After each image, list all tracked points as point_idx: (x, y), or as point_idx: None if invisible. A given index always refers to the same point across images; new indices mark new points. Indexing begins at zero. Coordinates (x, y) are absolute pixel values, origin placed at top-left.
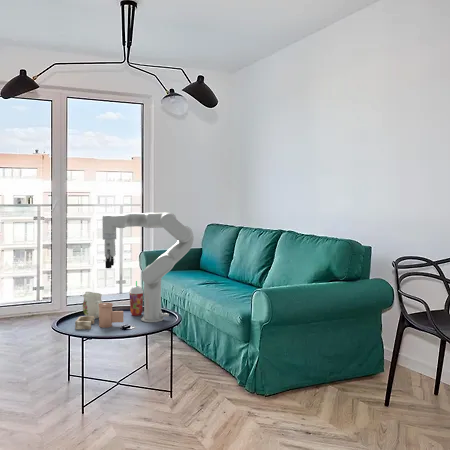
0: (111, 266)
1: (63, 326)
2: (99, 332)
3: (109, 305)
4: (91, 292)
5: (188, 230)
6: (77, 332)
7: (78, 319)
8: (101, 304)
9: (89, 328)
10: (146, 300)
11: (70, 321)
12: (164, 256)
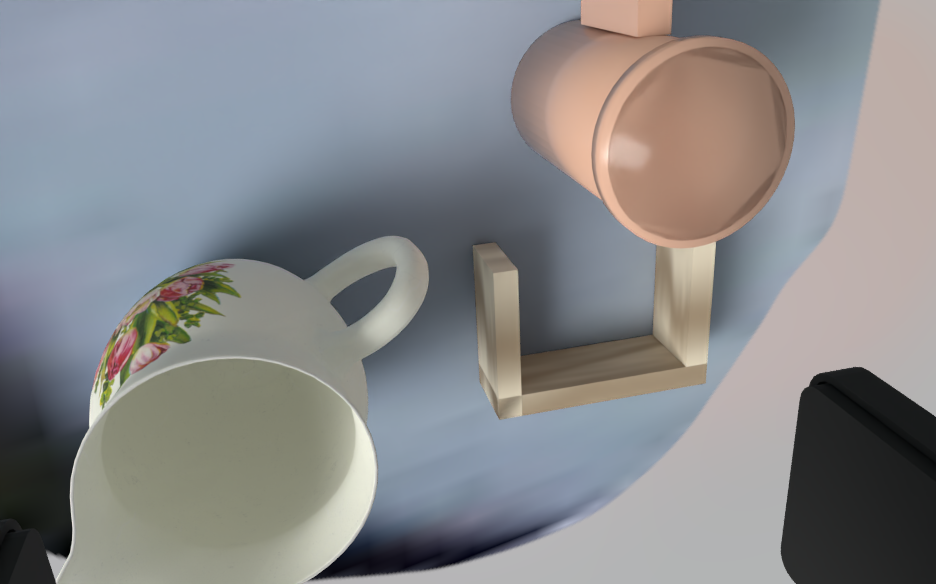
0: (864, 398)
1: (575, 473)
2: (797, 100)
3: (777, 69)
4: (70, 560)
5: None
6: (766, 298)
7: (624, 383)
8: (709, 201)
9: None
10: None
11: (409, 482)
12: None
